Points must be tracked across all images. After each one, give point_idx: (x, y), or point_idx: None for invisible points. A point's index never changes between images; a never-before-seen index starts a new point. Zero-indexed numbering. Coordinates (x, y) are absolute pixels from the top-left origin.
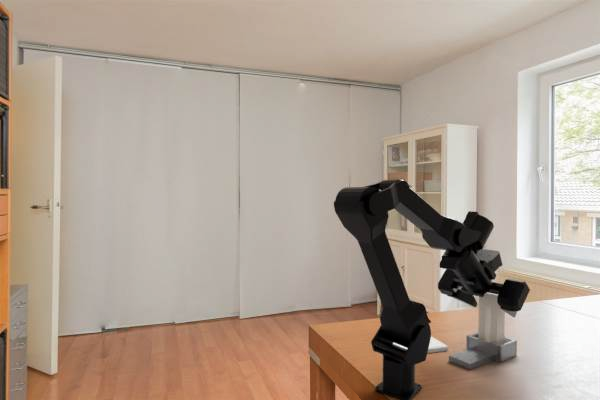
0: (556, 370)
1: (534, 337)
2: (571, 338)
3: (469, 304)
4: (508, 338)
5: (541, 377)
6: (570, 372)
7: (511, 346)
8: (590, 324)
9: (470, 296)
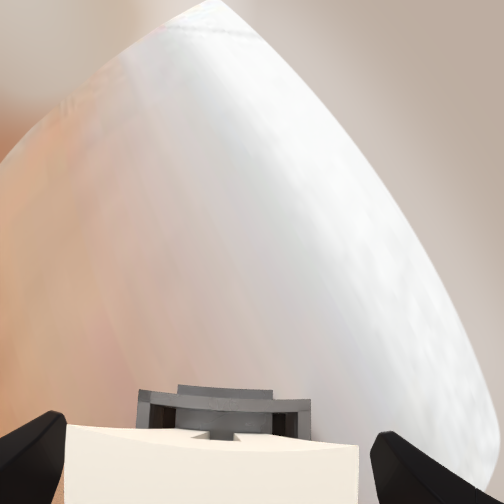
0: (420, 402)
1: (242, 186)
2: (304, 135)
3: (48, 499)
4: (274, 405)
5: None
6: (442, 379)
7: None
8: (277, 59)
9: (12, 496)
